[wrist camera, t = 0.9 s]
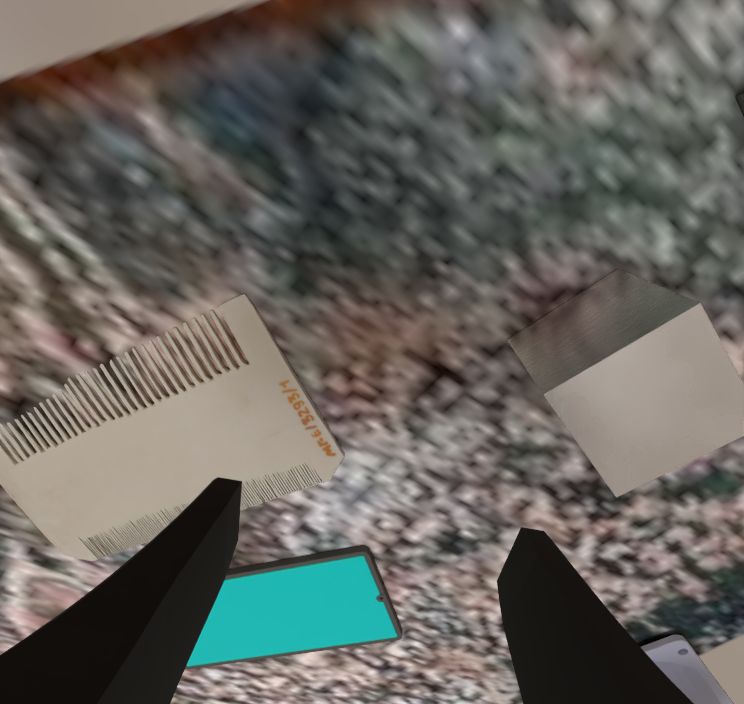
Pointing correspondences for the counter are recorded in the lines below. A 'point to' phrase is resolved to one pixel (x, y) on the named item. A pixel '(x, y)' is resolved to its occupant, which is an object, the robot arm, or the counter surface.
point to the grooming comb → (170, 441)
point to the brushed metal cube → (635, 378)
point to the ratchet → (741, 100)
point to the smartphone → (297, 609)
